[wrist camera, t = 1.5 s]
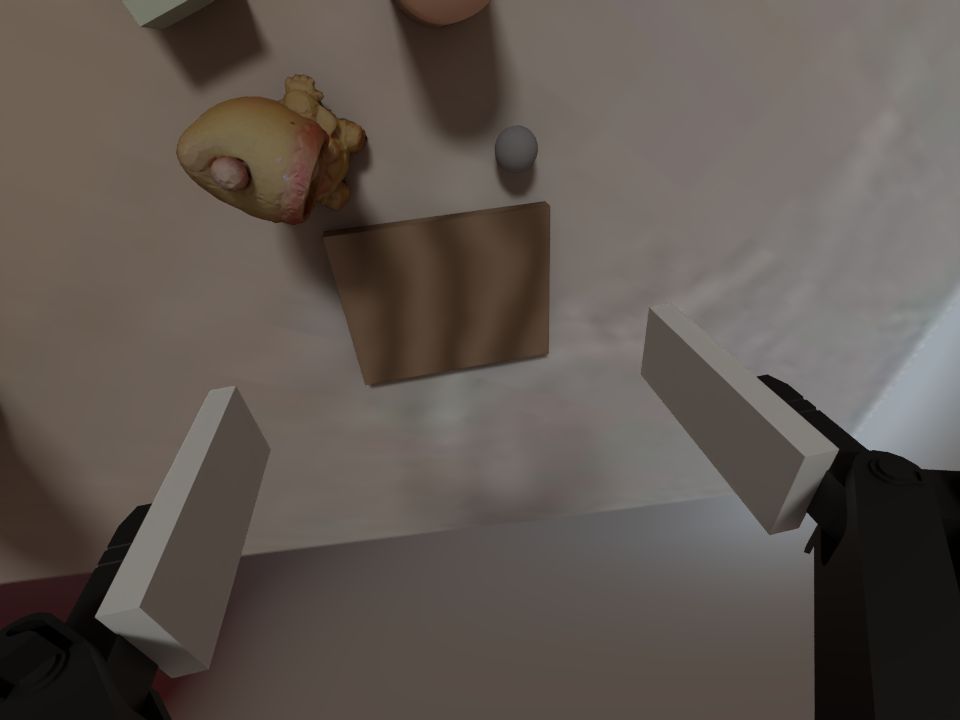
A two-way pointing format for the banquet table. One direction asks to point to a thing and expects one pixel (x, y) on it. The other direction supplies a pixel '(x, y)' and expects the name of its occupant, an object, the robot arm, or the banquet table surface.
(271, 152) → the figurine
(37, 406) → the banquet table surface
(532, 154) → the ball
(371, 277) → the board
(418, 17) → the brown rounded cylinder
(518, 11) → the banquet table surface
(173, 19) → the block
